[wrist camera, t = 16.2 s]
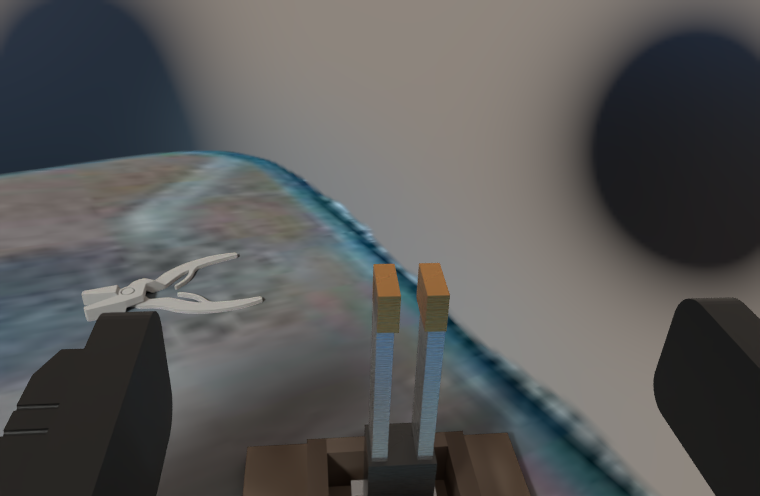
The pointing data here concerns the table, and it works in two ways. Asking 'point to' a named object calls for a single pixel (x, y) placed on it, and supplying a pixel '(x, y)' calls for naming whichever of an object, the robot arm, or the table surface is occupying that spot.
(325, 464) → the stand
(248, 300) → the pliers
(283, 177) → the table surface
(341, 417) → the table surface
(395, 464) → the tongs
